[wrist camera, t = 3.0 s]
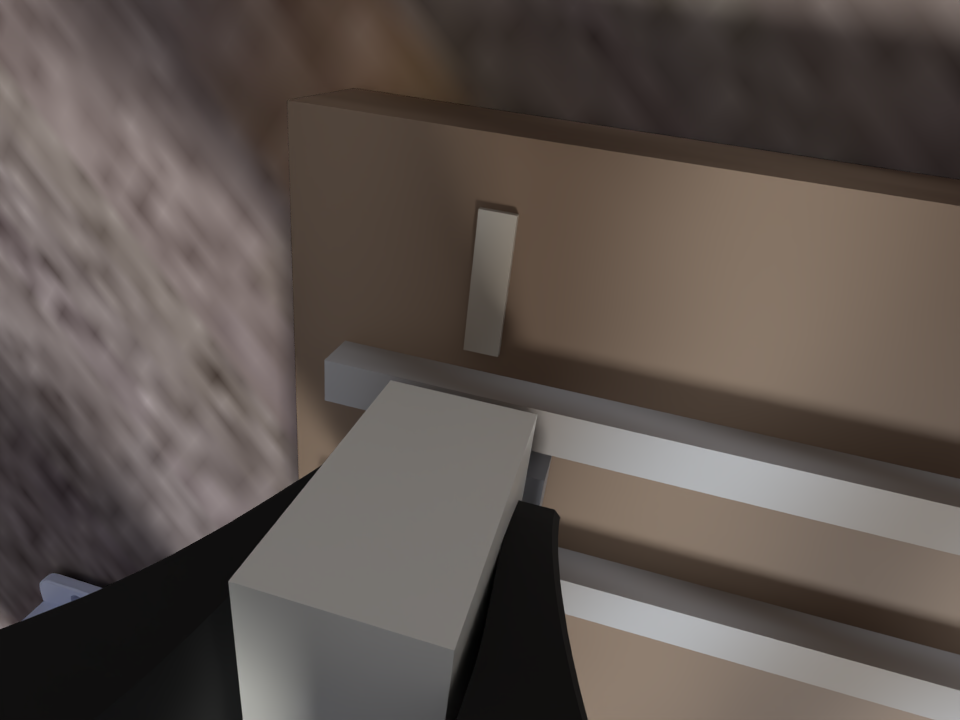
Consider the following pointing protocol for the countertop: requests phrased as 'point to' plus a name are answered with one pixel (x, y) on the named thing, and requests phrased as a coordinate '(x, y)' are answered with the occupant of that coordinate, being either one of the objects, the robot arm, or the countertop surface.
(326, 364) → the tan slider track board
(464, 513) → the block
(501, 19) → the countertop surface
